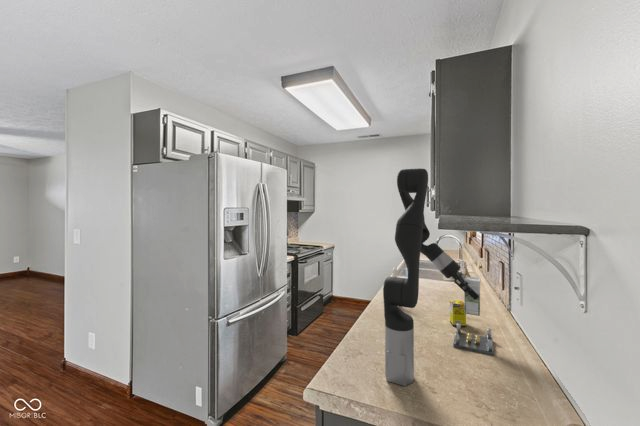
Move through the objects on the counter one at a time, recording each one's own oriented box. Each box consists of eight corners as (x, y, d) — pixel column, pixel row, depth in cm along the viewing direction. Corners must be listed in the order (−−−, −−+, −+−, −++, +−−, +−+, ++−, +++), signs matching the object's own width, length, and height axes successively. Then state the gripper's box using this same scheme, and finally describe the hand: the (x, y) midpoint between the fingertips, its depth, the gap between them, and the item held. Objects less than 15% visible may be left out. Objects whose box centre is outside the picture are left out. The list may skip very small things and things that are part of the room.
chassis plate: (493, 355, 107) (493, 342, 107) (453, 347, 114) (453, 334, 114) (492, 340, 119) (492, 328, 119) (455, 333, 126) (455, 322, 126)
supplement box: (466, 327, 133) (466, 304, 133) (452, 326, 134) (452, 303, 134) (462, 322, 139) (462, 300, 139) (449, 321, 140) (449, 299, 140)
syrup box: (480, 311, 118) (480, 277, 118) (480, 316, 113) (480, 280, 113) (464, 309, 121) (465, 275, 121) (464, 313, 116) (464, 278, 116)
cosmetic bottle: (390, 306, 162) (390, 268, 162) (389, 303, 168) (389, 266, 168) (401, 307, 161) (400, 269, 161) (399, 303, 167) (399, 267, 167)
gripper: (451, 261, 114) (485, 295, 108) (453, 256, 127) (484, 286, 121) (437, 273, 117) (469, 306, 111) (441, 267, 129) (470, 296, 123)
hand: (477, 296), depth 116 cm, fingers closed on syrup box, 6 cm apart
